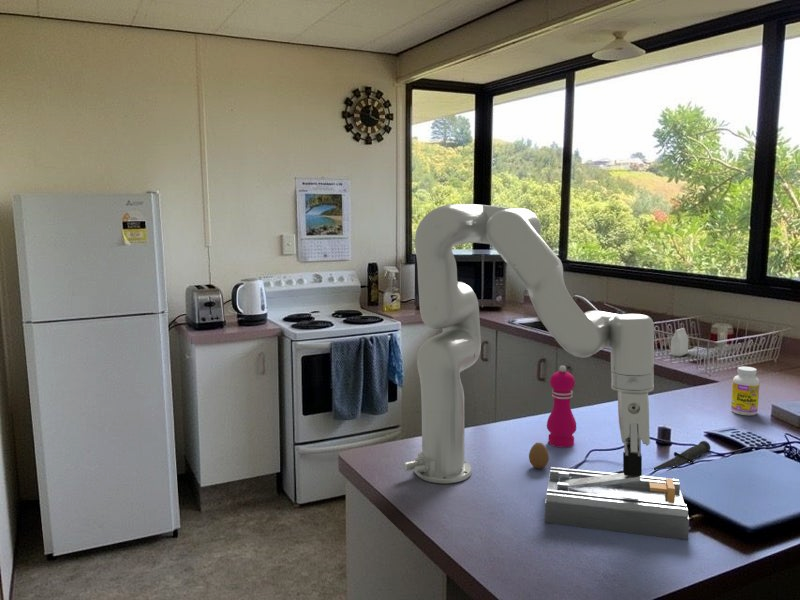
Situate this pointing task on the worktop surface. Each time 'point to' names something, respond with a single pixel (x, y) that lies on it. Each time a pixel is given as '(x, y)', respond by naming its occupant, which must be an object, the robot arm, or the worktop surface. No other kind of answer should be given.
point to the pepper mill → (561, 410)
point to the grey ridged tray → (616, 505)
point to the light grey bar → (600, 480)
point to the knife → (686, 455)
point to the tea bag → (679, 343)
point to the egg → (538, 456)
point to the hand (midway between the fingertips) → (632, 474)
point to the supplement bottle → (745, 392)
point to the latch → (665, 489)
